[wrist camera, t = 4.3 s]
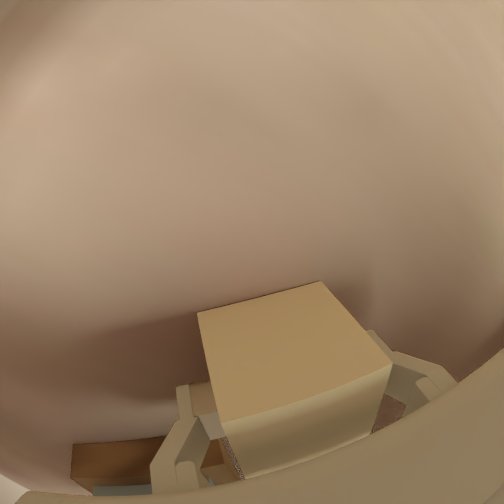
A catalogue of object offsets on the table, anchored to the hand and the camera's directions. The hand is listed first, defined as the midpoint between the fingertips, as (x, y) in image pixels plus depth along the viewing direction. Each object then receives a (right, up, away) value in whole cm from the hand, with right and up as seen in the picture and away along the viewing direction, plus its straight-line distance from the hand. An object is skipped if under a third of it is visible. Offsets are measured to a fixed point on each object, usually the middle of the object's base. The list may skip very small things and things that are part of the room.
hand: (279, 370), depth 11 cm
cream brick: (0, +1, +1) cm, 2 cm away
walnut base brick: (-7, -10, +5) cm, 13 cm away
